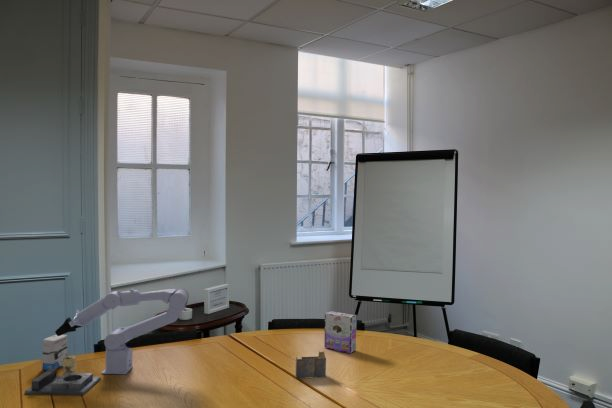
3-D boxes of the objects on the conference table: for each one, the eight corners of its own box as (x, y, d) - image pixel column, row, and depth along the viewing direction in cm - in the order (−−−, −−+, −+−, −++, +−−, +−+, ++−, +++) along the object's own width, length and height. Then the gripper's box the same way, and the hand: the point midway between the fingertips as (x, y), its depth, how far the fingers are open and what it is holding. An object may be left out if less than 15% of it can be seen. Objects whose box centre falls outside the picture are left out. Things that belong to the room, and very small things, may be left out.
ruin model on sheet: (324, 375, 188) (324, 350, 188) (325, 378, 185) (326, 353, 185) (295, 376, 186) (295, 351, 186) (296, 379, 183) (297, 354, 183)
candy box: (356, 350, 217) (357, 314, 217) (350, 354, 212) (351, 317, 212) (330, 345, 225) (330, 310, 224) (323, 348, 220) (324, 312, 219)
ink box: (52, 371, 185) (53, 340, 185) (41, 369, 186) (42, 339, 186) (68, 363, 193) (68, 334, 193) (57, 362, 194) (57, 333, 194)
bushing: (77, 371, 185) (78, 356, 185) (72, 376, 181) (72, 359, 180) (66, 371, 185) (66, 355, 185) (60, 375, 181) (60, 359, 180)
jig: (100, 379, 178) (100, 368, 178) (83, 395, 164) (83, 383, 164) (46, 378, 178) (46, 367, 178) (24, 394, 164) (24, 382, 164)
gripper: (94, 301, 193) (64, 319, 192) (79, 306, 178) (46, 326, 177) (103, 316, 193) (73, 334, 192) (89, 322, 178) (56, 342, 177)
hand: (61, 331), depth 184 cm, fingers open, 7 cm apart
